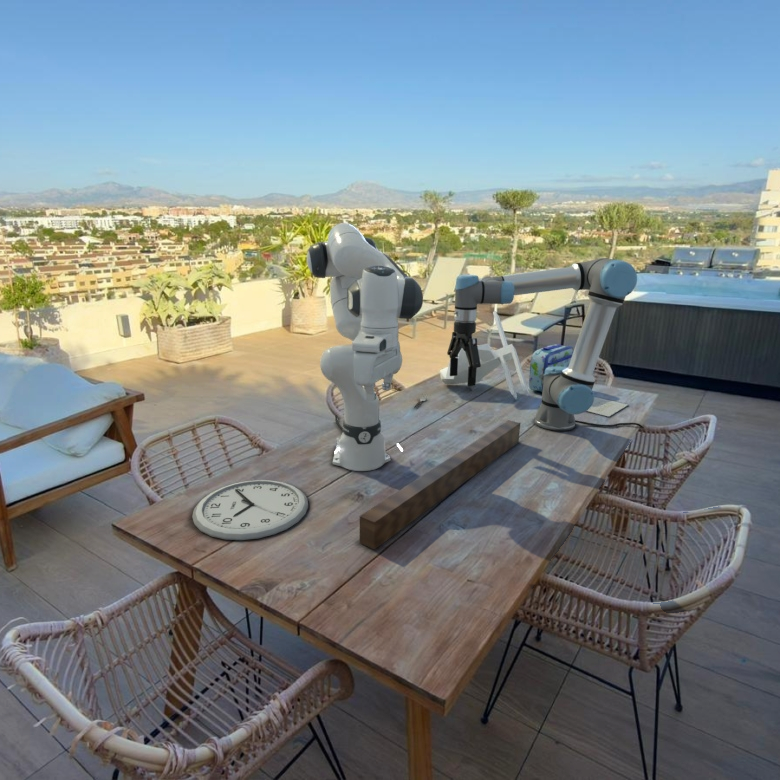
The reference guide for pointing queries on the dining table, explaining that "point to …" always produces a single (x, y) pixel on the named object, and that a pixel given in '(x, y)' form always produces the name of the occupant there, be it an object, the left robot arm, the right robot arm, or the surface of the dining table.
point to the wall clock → (250, 510)
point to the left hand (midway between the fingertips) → (379, 394)
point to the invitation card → (605, 407)
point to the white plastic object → (488, 363)
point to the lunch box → (547, 363)
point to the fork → (421, 400)
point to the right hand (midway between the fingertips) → (462, 380)
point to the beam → (434, 486)
